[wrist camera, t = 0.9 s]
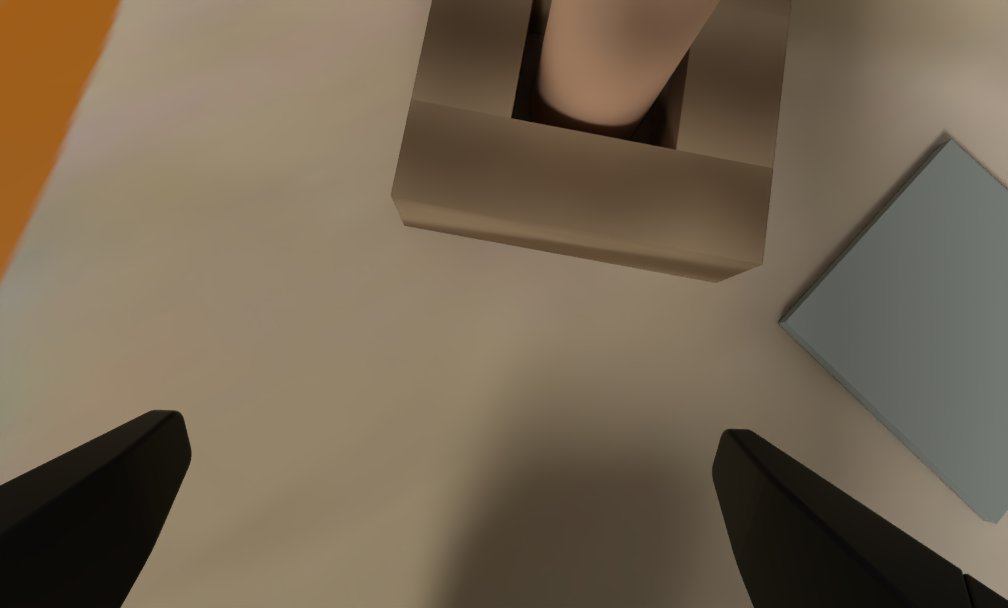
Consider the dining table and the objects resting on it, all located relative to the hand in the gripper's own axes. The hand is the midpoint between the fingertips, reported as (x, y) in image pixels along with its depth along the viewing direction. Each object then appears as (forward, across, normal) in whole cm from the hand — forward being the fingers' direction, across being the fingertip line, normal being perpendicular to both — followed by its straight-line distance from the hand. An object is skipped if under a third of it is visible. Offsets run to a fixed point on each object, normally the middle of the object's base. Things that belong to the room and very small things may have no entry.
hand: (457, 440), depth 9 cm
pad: (+14, -22, +4) cm, 27 cm away
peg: (+19, -5, -3) cm, 20 cm away
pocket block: (+19, -5, -3) cm, 20 cm away
